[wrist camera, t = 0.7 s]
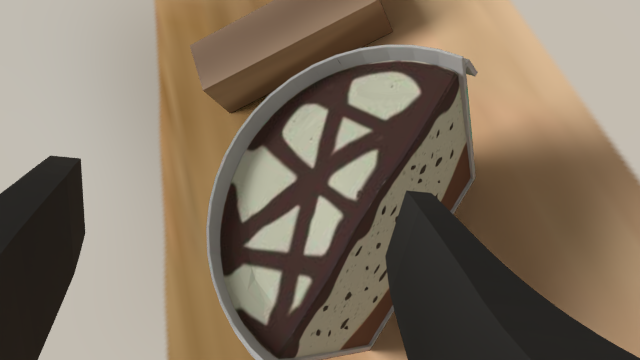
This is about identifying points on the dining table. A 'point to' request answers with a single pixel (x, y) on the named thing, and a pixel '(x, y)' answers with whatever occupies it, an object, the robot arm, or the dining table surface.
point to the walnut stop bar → (282, 45)
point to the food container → (333, 195)
